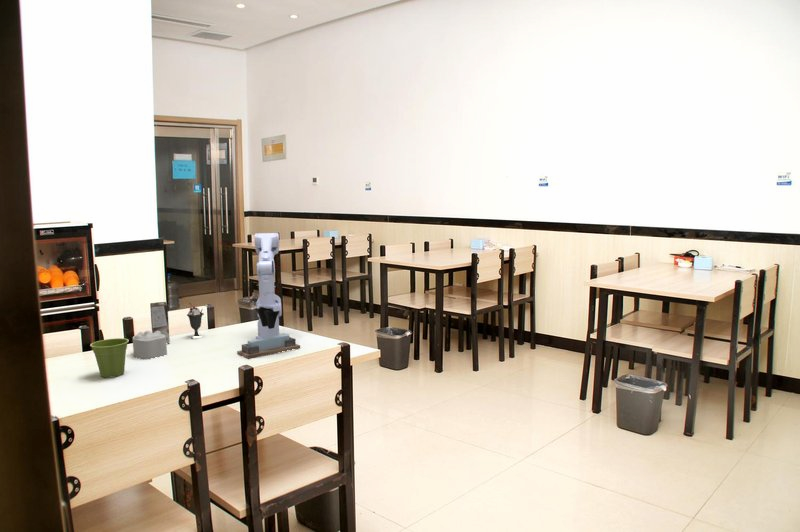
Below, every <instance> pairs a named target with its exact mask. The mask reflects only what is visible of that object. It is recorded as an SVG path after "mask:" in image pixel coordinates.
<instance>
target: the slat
mask: <svg viewBox="0 0 800 532" xmlns="http://www.w3.org/2000/svg"><path fill="white" fill-rule="evenodd" d="M289 337H290V335H289V334H286V333H284V334H279V335H277V336H272V337H266V338H261V339H258V338H256V339H252V340H251V339H250V340H247V344H248V346H249V347H253V346H259V351H263V350H268V349H273V348H279V347H284V346H285V340H289Z"/></svg>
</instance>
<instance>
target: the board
mask: <svg viewBox="0 0 800 532" xmlns="http://www.w3.org/2000/svg"><path fill="white" fill-rule="evenodd" d="M297 348H300V349H301V345H300V344H298V343H297V340H296V338H294V337H290V336H289V340H285V346H284V347H279V348H273V349H268V350H263V351H259V346H253V347H249V346H248V343H246V344H245V343H244V344H241V350H237V353H236V354H237V355H238V356H239V357H240V356H241V357H242V356H243V357H242V358H245V359H246V360H247V359H248V360H251V359H255V358H261V357H266V356H270V354H271V355H275V354H274V353H276V354H279V353H278V352H280V353H283V352H282V351H285V352H288V351H287V350H290V351H293V350H292V349H295V350H298V349H297Z"/></svg>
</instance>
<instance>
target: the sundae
mask: <svg viewBox="0 0 800 532" xmlns="http://www.w3.org/2000/svg"><path fill="white" fill-rule="evenodd" d="M188 304H189V305H190V306H191V307H189V310H188V312H187V314H186V316H187V317H188V319H189V324H190V328H192V329H193V330H194V334H193V336H200V334H199V331H198V330H199V329H200V328H201V327H202V326H201V325H202V317H203V316H204V315H205V314H204V312H203V310H204V309H203V308H202V309H201V310H200V309H199V308H198V307H196V306H194V305H193V304H192V303H191V302H190V303H189V302H188Z"/></svg>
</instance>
